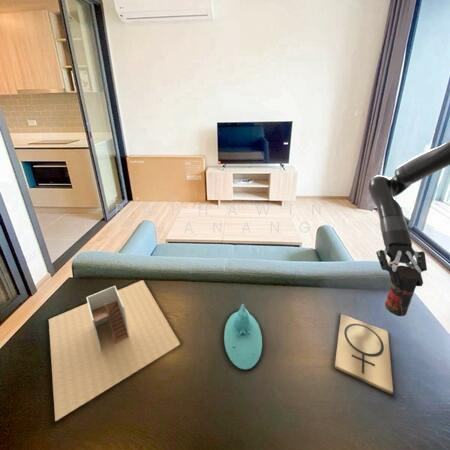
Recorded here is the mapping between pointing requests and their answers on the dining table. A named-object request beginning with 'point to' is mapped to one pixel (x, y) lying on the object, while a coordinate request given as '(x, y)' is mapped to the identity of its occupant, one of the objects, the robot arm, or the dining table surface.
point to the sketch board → (364, 353)
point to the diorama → (243, 339)
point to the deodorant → (402, 291)
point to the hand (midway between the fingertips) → (407, 285)
